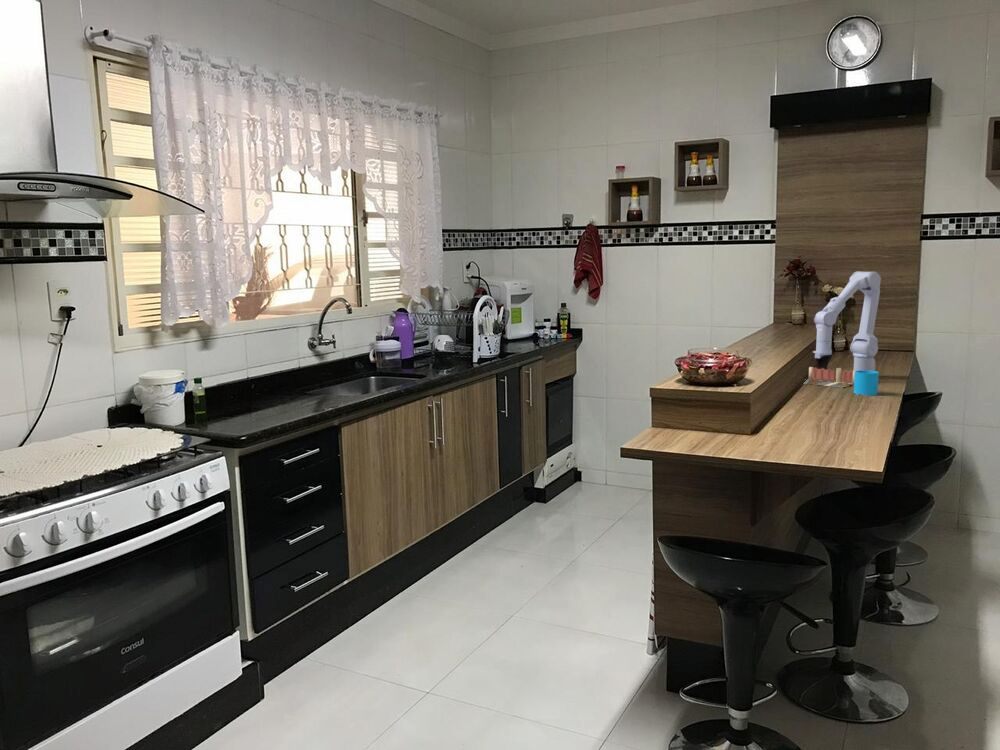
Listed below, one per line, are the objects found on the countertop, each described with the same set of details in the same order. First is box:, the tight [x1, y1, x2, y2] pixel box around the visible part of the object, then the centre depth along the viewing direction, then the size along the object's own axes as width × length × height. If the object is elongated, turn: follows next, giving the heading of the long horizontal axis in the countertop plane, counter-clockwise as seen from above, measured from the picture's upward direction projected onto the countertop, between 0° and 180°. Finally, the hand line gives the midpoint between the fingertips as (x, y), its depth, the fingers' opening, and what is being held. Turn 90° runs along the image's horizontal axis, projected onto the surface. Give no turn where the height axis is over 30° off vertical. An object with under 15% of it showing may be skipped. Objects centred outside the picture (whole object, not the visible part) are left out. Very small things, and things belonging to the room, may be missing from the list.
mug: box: [853, 370, 880, 396], centre depth 303 cm, size 12×8×8 cm
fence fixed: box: [835, 367, 855, 384], centre depth 324 cm, size 8×2×6 cm, turn 46°
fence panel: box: [808, 366, 836, 381], centre depth 331 cm, size 10×2×5 cm, turn 48°
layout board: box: [802, 378, 852, 389], centre depth 329 cm, size 23×20×1 cm
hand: (822, 374), depth 332 cm, fingers closed, pressing on fence panel
